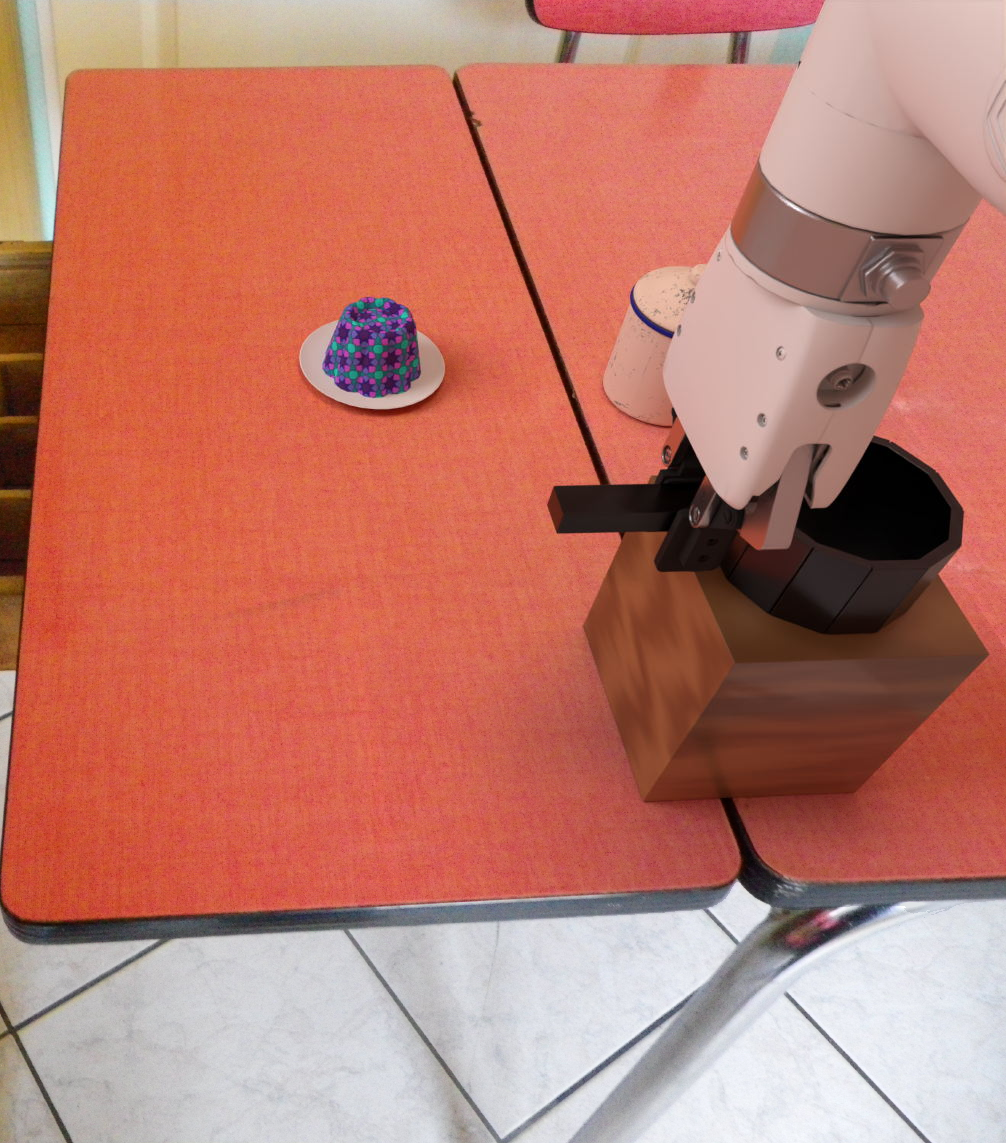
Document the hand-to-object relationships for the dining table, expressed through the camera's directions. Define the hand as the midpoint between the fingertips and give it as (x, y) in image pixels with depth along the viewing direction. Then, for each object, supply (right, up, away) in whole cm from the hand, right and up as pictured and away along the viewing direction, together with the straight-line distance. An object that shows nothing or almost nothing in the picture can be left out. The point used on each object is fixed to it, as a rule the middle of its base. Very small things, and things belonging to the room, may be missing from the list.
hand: (675, 544), depth 54 cm
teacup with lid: (+11, +14, +33) cm, 38 cm away
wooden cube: (+7, -10, +12) cm, 17 cm away
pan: (+3, -1, +1) cm, 3 cm away
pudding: (-12, +15, +33) cm, 38 cm away
